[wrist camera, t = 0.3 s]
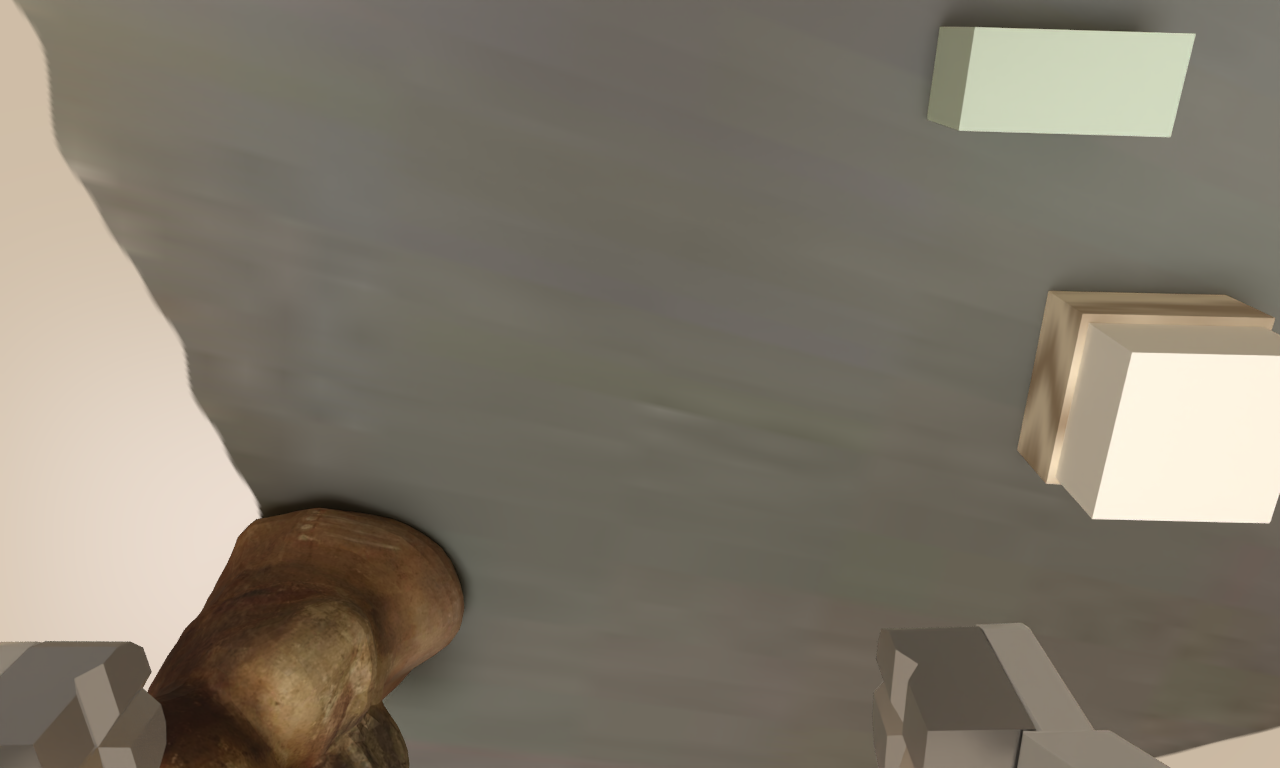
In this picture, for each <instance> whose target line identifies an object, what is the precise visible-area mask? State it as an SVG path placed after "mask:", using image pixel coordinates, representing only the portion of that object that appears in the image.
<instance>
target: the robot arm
mask: <svg viewBox="0 0 1280 768" xmlns="http://www.w3.org/2000/svg"><path fill="white" fill-rule="evenodd" d="M876 660H877V663H878V666H879V669H880V672H881V675H882V678H883V681H884V682H883V683H882V684H881V685H880V686H879V687H878V688H877V689H876V690H875V691H874V692H873V710H872V724H873V739H874V747H875V752H876V757H877V762H878V766H879V768H1170V767H1169V766H1167V765H1165V764H1164V763H1162V762H1160V761H1159V760H1157V759H1155V758H1154V757H1152V756H1151V755H1149V754H1147V753H1146V752H1144V751H1142V750H1141V749H1139V748H1138V747H1136V746H1134V745H1133V744H1131V743H1129V742H1128V741H1126V740H1124V739H1123V738H1121V737H1120V736H1118V735H1116V734H1115V733H1113V732H1111V731H1110V730H1094V729H1093V727H1092V725H1091V724H1090V722H1089V721H1088V719H1087V718H1086V716H1085V714H1084V713H1083V711H1082V710H1081V708H1080V707H1079V705H1078V703H1077V702H1076V700H1075V699H1074V697H1073V696H1072V694H1071V692H1070V691H1069V689H1068V688H1067V686H1066V685H1065V683H1064V681H1063V680H1062V678H1061V677H1060V675H1059V674H1058V672H1057V670H1056V669H1055V667H1054V666H1053V664H1052V663H1051V661H1050V660H1049V658H1048V656H1047V655H1046V653H1045V652H1044V650H1043V649H1042V647H1041V645H1040V644H1039V642H1038V641H1037V639H1036V638H1035V636H1034V634H1033V633H1032V631H1031V630H1030V628H1029V627H1027V626H1025V625H1024V624H1022V623H1004V624H982V625H974V627H928V628H884V629H881V632H880V635H879V638H878V645H877V656H876ZM150 674H151V669H150V666H149V663H148V660H147V658H146V655H145V652H144V649H143V647H141V646H138V645H136V644H134V643H132V642H89V641H88V642H87V641H86V642H85V641H81V642H80V641H78V642H77V641H74V642H73V641H70V642H69V641H45V642H0V768H160V765H161V761H162V758H163V754H164V751H165V747H166V720H165V717H164V713H163V709H162V706H161V704H160V703H159V702H158V701H157V700H156V699H154V698H153V697H152V696H151V695H150V694H149V693H147V692H146V691H145V690H144V689H143V687H144V685H145V683H146V681H147V679H148V677H149V676H150Z"/></svg>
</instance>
